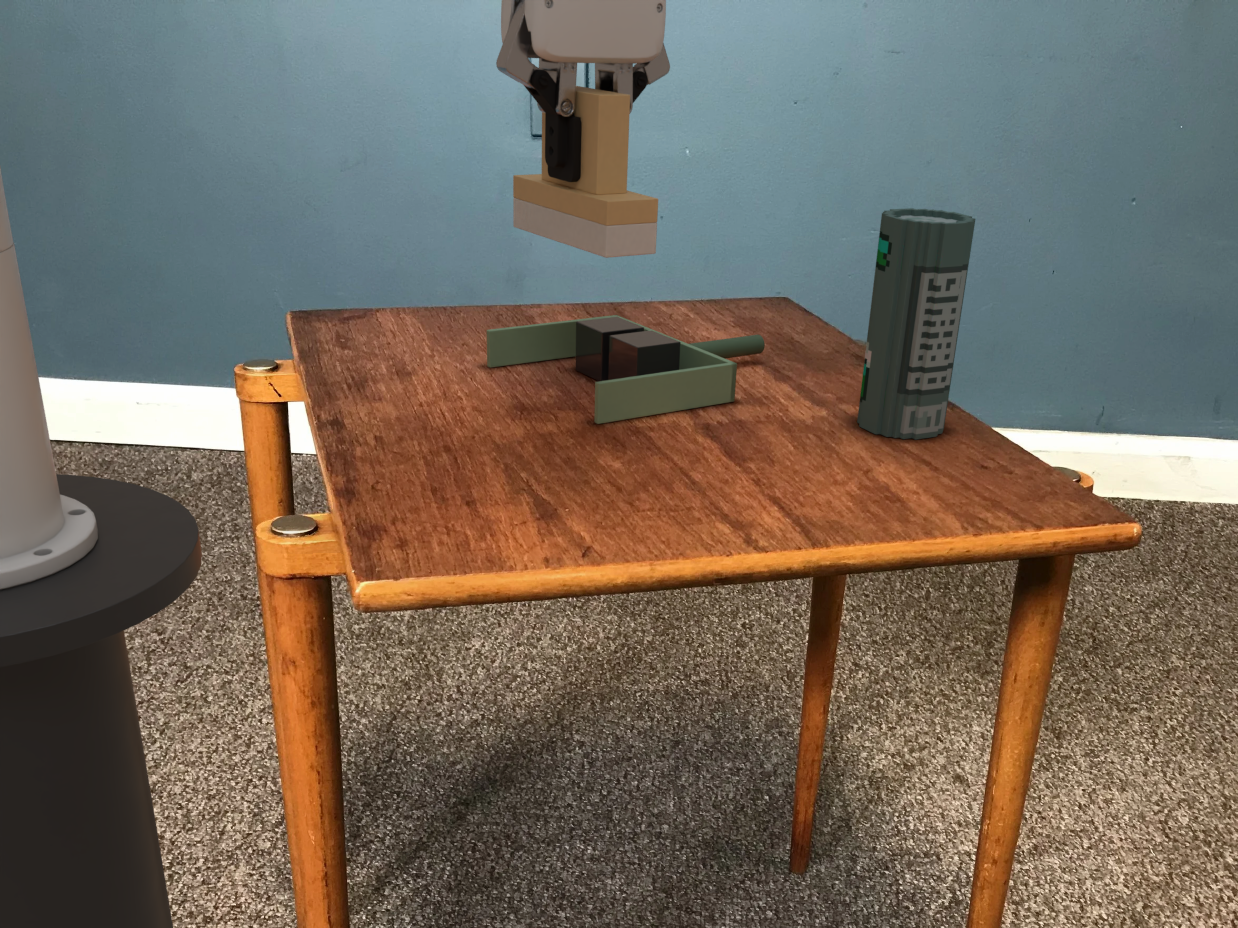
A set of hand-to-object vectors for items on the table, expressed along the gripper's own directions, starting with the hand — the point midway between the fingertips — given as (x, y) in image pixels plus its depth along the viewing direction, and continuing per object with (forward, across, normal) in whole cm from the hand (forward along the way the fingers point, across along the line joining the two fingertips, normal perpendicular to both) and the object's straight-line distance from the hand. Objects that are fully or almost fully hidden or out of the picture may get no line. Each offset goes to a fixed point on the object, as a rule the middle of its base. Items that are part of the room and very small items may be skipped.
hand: (583, 176), depth 87 cm
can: (+17, -20, +13) cm, 29 cm away
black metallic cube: (+17, -8, -9) cm, 21 cm away
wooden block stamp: (+4, 0, 0) cm, 4 cm away
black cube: (+17, -8, -4) cm, 19 cm away
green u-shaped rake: (+17, -11, -6) cm, 21 cm away
